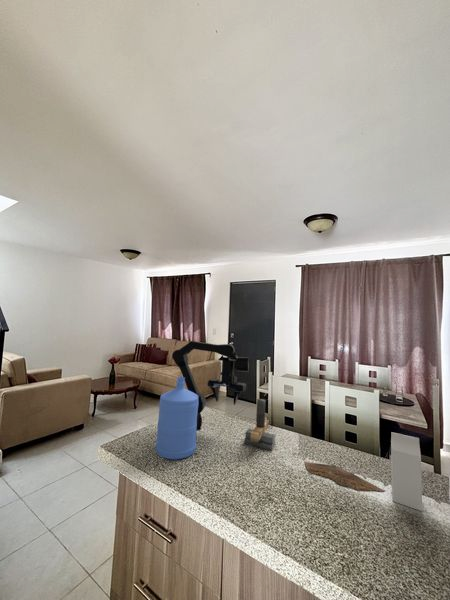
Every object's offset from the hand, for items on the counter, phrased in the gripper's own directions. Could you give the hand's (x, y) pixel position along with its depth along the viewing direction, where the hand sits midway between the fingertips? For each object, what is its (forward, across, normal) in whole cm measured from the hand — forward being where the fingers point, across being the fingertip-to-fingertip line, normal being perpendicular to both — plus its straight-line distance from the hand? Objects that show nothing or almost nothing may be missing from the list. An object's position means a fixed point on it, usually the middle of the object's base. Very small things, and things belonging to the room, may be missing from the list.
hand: (225, 403), depth 121 cm
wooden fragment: (+14, -50, +13) cm, 54 cm away
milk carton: (+13, -69, +16) cm, 72 cm away
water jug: (+13, +9, +27) cm, 31 cm away
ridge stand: (+13, -19, +4) cm, 23 cm away
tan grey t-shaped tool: (+8, -19, +4) cm, 21 cm away
